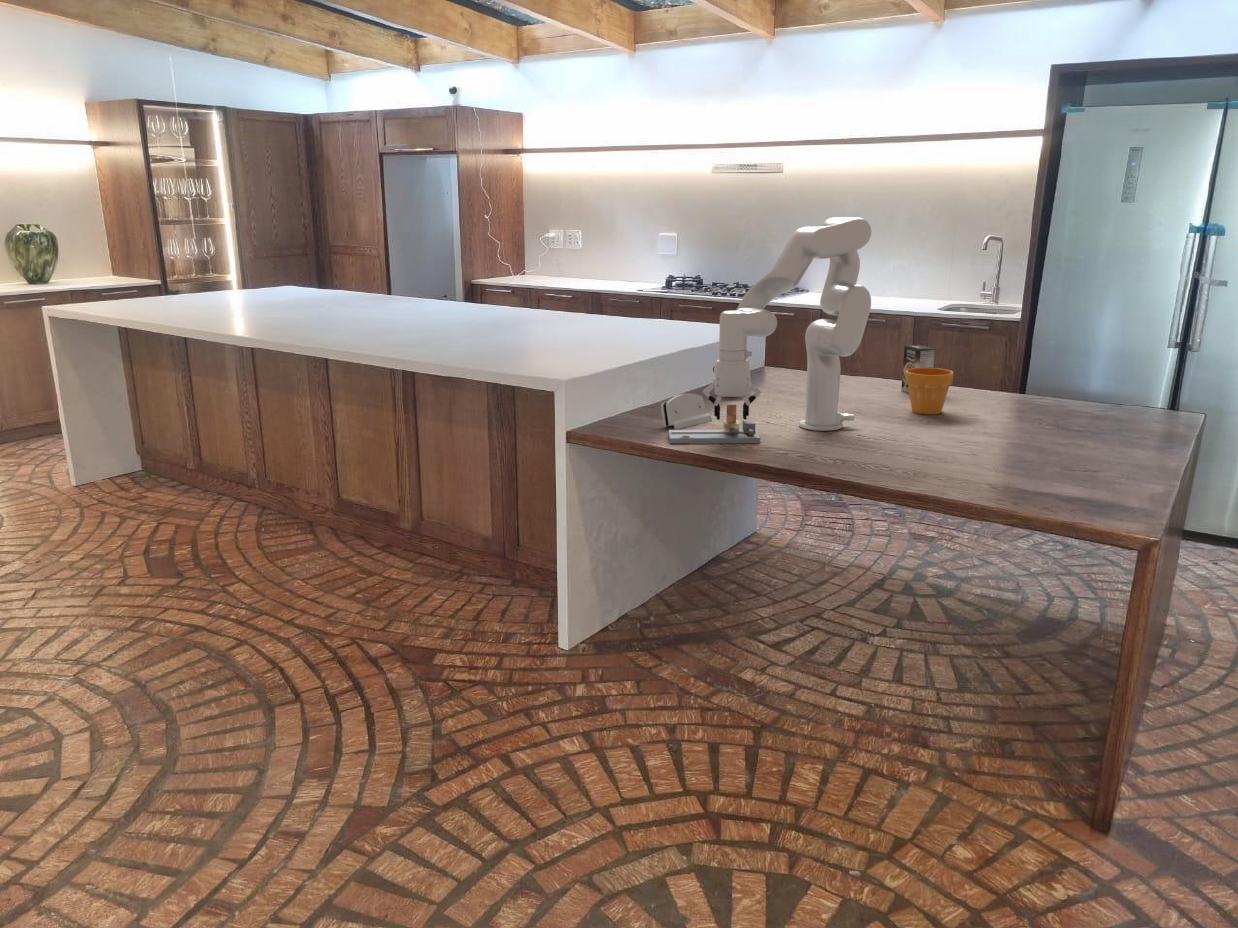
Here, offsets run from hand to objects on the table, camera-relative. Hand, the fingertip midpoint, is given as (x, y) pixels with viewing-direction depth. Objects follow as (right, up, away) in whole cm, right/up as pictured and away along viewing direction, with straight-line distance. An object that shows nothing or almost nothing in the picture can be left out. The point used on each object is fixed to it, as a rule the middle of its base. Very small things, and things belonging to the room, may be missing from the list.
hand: (731, 418), depth 252 cm
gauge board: (-5, -6, +1) cm, 8 cm away
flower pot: (+66, +3, +31) cm, 73 cm away
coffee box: (+72, +12, +61) cm, 95 cm away
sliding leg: (0, -4, -1) cm, 4 cm away
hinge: (-12, -1, +20) cm, 23 cm away
